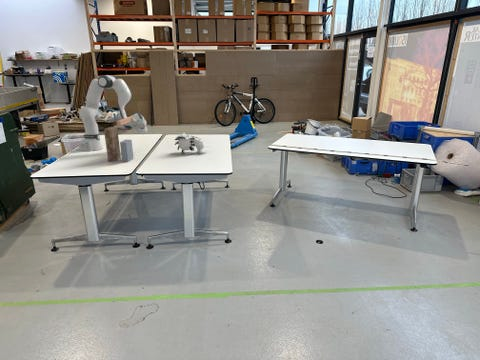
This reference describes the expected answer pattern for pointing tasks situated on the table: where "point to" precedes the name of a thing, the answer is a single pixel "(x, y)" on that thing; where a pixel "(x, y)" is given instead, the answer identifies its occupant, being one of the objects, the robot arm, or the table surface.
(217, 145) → the table surface
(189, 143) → the figurine
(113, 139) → the pillar
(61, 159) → the table surface
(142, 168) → the table surface
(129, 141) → the blue-grey block
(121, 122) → the bar
